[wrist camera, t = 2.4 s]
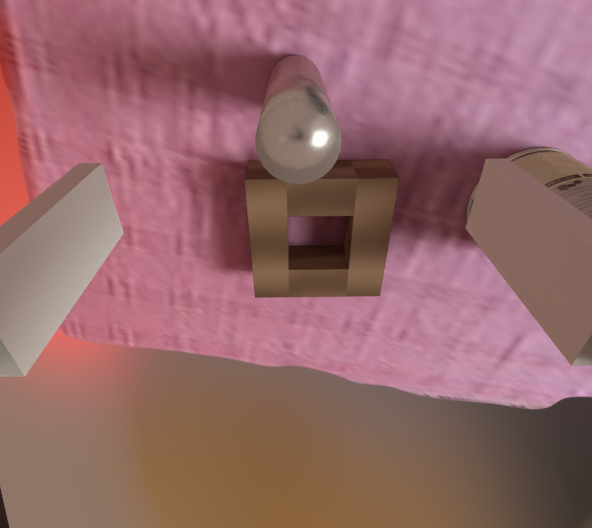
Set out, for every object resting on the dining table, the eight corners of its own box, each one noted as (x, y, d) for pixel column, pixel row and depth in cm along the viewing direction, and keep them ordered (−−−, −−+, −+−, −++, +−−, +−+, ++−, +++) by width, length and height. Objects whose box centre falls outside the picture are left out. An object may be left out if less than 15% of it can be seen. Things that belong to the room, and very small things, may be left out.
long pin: (268, 55, 28) (252, 98, 16) (322, 54, 28) (344, 97, 16) (270, 111, 30) (258, 184, 19) (320, 111, 30) (338, 183, 19)
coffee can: (604, 189, 34) (762, 287, 23) (508, 263, 39) (598, 375, 28) (540, 119, 31) (688, 195, 19) (442, 211, 35) (514, 315, 24)
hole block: (249, 160, 32) (244, 179, 29) (388, 159, 32) (399, 178, 29) (257, 272, 39) (255, 297, 36) (372, 271, 39) (379, 296, 36)
